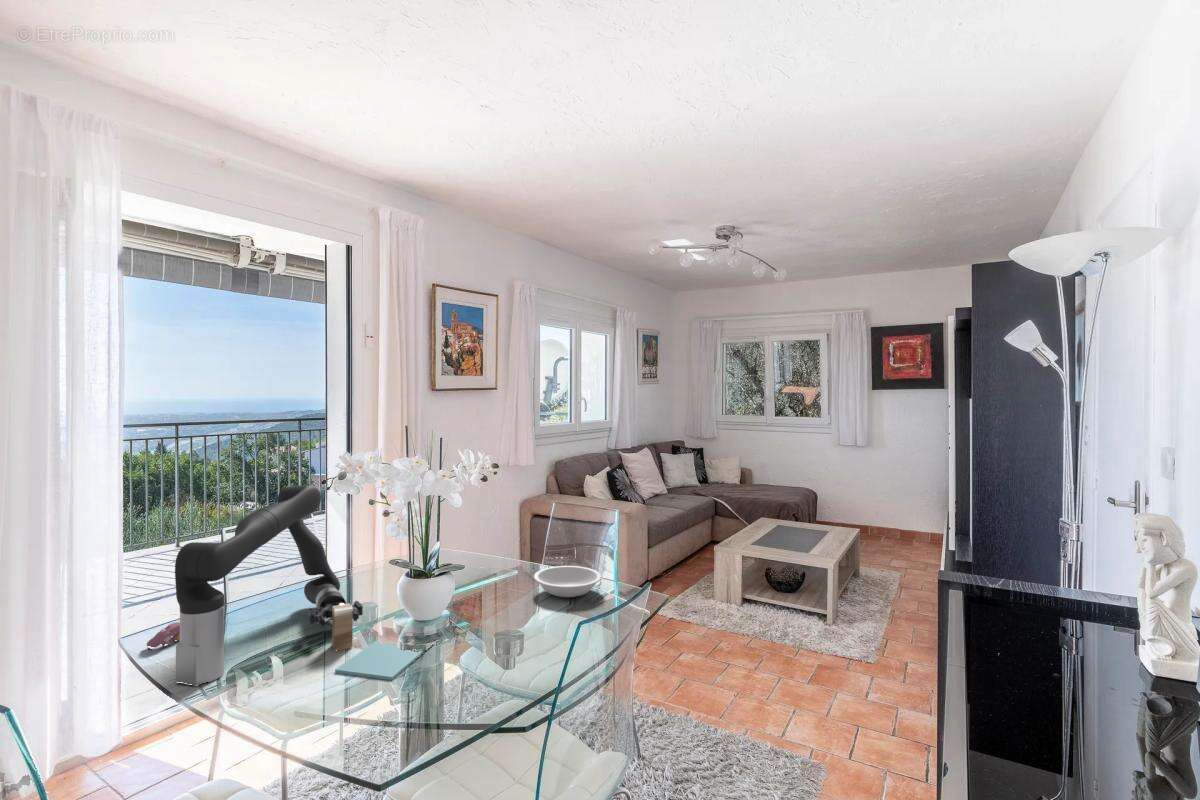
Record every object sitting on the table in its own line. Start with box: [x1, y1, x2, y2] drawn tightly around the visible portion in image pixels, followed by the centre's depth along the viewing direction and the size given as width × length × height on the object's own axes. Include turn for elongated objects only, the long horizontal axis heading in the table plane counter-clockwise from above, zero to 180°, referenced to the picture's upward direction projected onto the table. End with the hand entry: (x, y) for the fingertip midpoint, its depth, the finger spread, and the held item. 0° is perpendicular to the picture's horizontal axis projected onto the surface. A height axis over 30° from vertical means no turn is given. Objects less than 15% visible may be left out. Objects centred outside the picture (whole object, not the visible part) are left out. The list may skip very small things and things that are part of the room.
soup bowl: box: [533, 565, 602, 598], centre depth 214 cm, size 24×24×7 cm
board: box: [334, 640, 423, 681], centre depth 162 cm, size 22×16×1 cm
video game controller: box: [146, 621, 180, 648], centre depth 168 cm, size 10×5×7 cm, turn 169°
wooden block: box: [331, 603, 354, 652], centre depth 168 cm, size 4×4×11 cm
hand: (339, 620), depth 171 cm, fingers open, 8 cm apart
